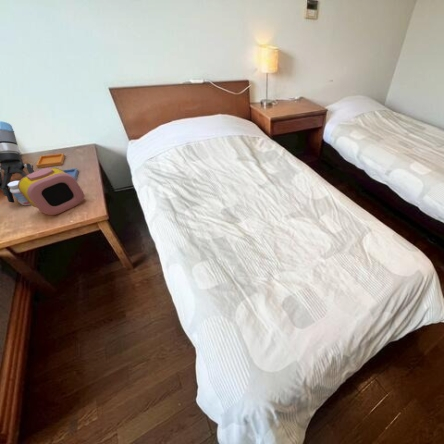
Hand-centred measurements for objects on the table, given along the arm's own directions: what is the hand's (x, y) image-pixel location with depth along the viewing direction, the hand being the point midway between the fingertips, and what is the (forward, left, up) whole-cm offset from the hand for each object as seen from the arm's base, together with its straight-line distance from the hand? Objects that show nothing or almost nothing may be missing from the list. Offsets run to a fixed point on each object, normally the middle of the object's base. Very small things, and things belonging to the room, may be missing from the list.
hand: (23, 200), depth 119 cm
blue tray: (+12, +22, -4) cm, 26 cm away
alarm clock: (+15, -6, -4) cm, 16 cm away
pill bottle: (0, +3, -4) cm, 5 cm away
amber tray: (+3, +44, -4) cm, 45 cm away
